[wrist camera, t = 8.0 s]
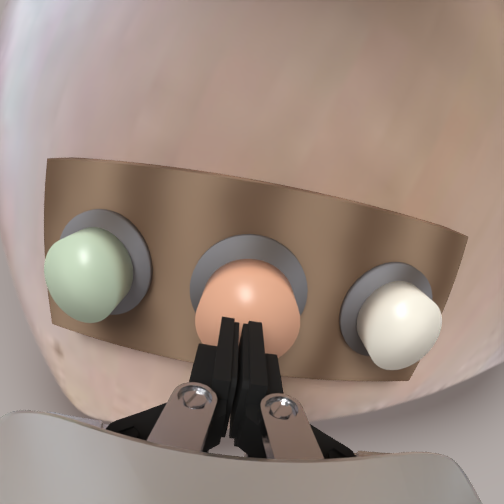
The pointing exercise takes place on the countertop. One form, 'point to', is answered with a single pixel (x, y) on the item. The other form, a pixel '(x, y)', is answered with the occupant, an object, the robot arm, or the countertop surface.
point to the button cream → (398, 325)
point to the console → (244, 256)
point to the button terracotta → (250, 303)
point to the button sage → (88, 274)
